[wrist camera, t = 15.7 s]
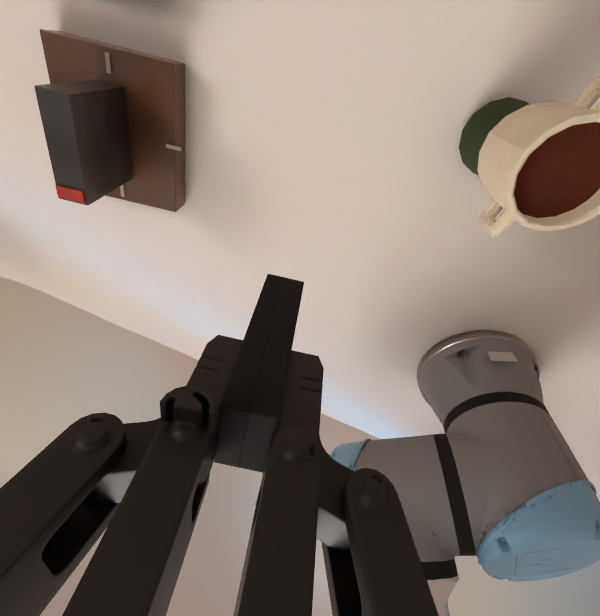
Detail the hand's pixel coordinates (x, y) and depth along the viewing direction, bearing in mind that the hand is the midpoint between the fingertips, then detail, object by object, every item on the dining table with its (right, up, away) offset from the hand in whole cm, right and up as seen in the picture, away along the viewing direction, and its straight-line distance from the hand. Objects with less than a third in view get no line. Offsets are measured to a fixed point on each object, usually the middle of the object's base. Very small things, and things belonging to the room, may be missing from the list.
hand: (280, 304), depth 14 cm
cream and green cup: (+19, +16, +17) cm, 29 cm away
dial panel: (-16, +18, +19) cm, 31 cm away
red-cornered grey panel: (-16, +16, +17) cm, 29 cm away
